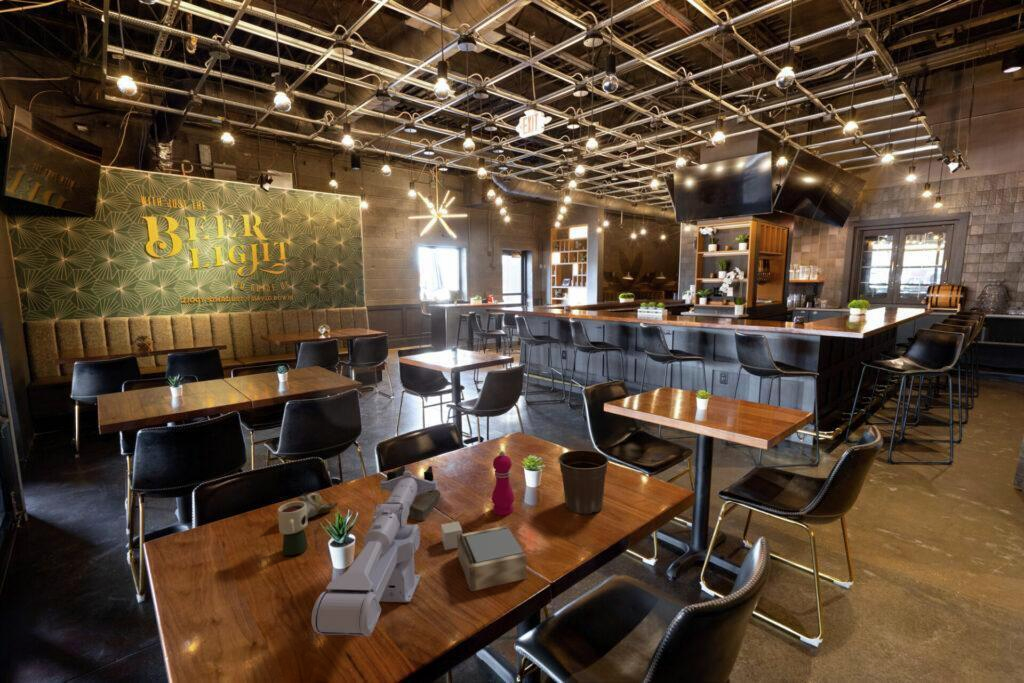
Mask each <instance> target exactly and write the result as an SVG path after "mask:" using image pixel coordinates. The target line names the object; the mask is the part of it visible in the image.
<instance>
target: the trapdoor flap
mask: <svg viewBox="0 0 1024 683" xmlns="http://www.w3.org/2000/svg"><path fill="white" fill-rule="evenodd" d="M466 542H467V544H468V546H469V549H470V551H471V554H472V556H471V557H472V559H473V562H474V564H476V563H481V562H485V561H490V560H494V559H499V558H504V557H508V556H513V555H518V554H522V553H524V551H523V549H522V547H521V545H520V544H519V542H518V541H517V539H516V538H515V536H514V534H513V532H512V531H511V530H510V528H509V527H508V529H502V530H497V531H492V532H487V533H482V534H477V535H472V536H467V537H466ZM524 554H525V553H524Z"/></svg>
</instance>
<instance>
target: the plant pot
mask: <svg viewBox="0 0 1024 683" xmlns="http://www.w3.org/2000/svg"><path fill="white" fill-rule="evenodd" d="M609 460H610V459H609V457H608V456H607V455H606V454H604V453H601V452H598V451H595V450H587V449H586V450H585V449H578V450H576V449H575V450H570V451H566V452H563V453H561V454H560V455H559V456H558V457H557V461H558V463H559V468H560V473H561V476H562V477H561V478H562V486H563V494H564V503H565V505H564V506H565V508H567V509H568V510H569V511H570V512H572V513H574V514H579V515H592V514H593V513H599V512H600V511H602V510H603V507H604V496H605V495H604V494H605V483H606V482H605V481H606V474H607V472H608V471H607V470H608V469H607V468H608V464H609V463H610V461H609Z"/></svg>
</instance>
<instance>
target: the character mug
mask: <svg viewBox="0 0 1024 683" xmlns="http://www.w3.org/2000/svg"><path fill="white" fill-rule="evenodd" d="M277 520H278V530H279V533H280V534H282V535H283V539H282V540H283V541H282V554H283V555H286V556H287V555H288V556H292V555H293V556H294V555H300V554H302V553H303V552H306V550H307V549H308V545H309V544H308V540H307V535H306V532H305V529H306V528H307V527H308V518H307V509H306V503H305V502H303V501H298V500H295V501H293V500H292V501H289V502H286V503H284V504H282V505H279V507H278V508H277Z"/></svg>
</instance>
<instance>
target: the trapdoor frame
mask: <svg viewBox="0 0 1024 683" xmlns="http://www.w3.org/2000/svg"><path fill="white" fill-rule="evenodd" d="M508 528H509V526H508V525H503V526H502V525H501V526H497V527H492V528H487V529H482V530H477V531H476V530H475V531H471V532H465V533H462V534H460V535H457V545H458V548H457V557H458V560H459V562H460V566H461V569H462V571H463V574H464V577H465V579H466V582H467V585H468V588H469V589H470V590H469V591H470V592H474V591H480V590H485V589H487V588H492V587H497V586H500V585H505V584H508V583H513V582H518V581H521V580H525V579H526V580H527V556H526V553H522V554H518V555H513V556H508V557H504V558H499V559H494V560H490V561H485V562H481V563H475V562H474V558H473V556H472V554H471V551H470V549H469V546H468V544H467V542H466V537H467V536H472V535H477V534H482V533H487V532H492V531H497V530H502V529H508Z"/></svg>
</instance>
